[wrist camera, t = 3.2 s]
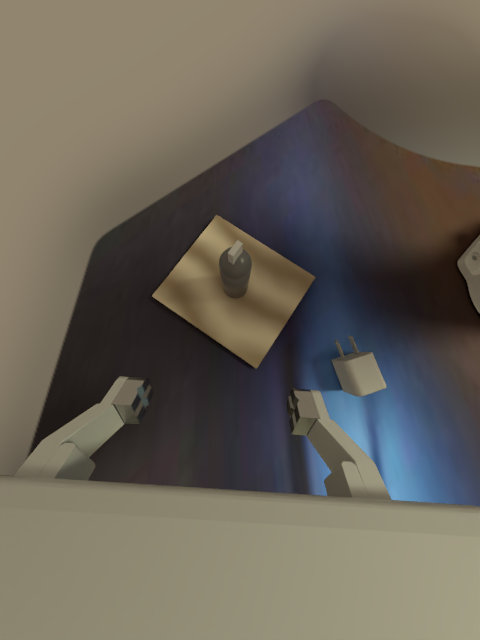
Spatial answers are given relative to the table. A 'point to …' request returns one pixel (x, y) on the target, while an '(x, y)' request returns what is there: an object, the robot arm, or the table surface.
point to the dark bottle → (235, 270)
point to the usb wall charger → (358, 371)
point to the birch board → (235, 313)
